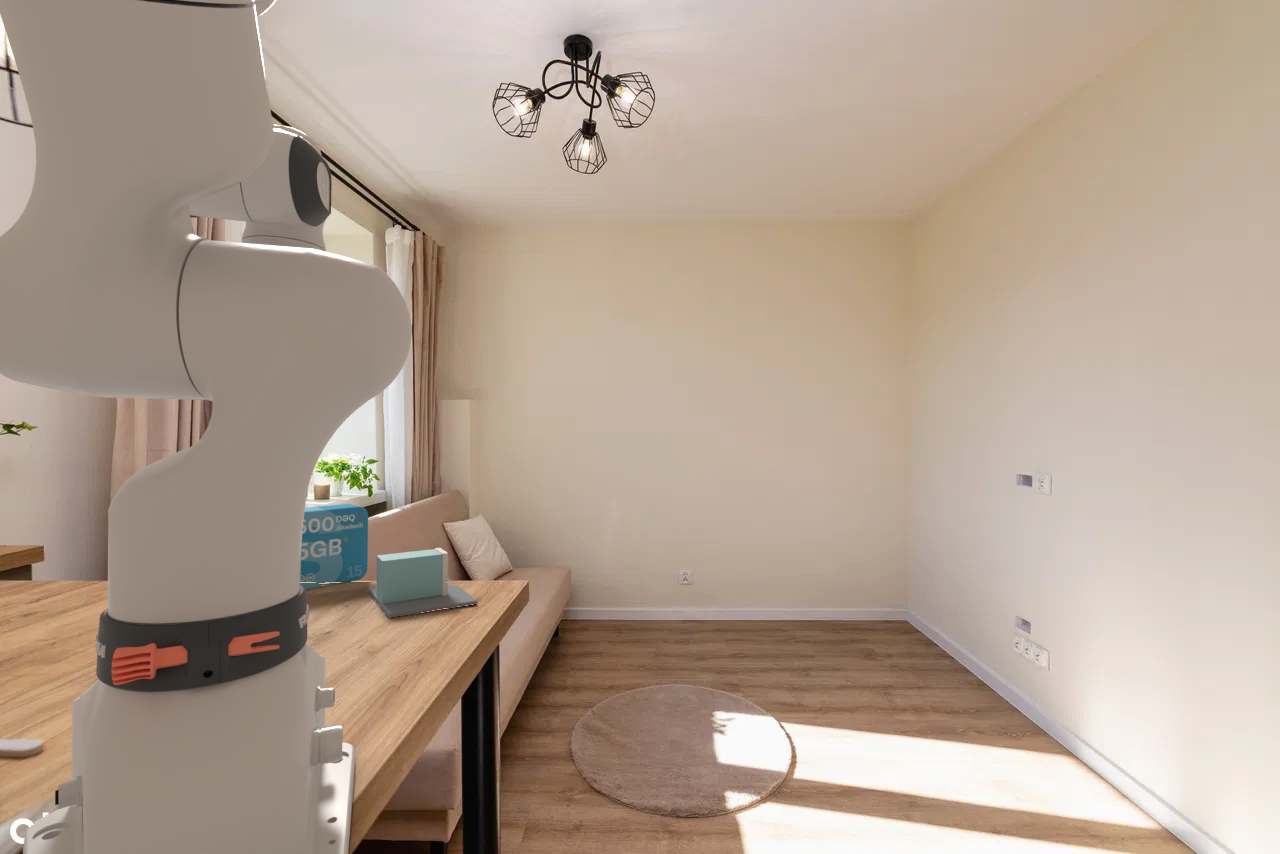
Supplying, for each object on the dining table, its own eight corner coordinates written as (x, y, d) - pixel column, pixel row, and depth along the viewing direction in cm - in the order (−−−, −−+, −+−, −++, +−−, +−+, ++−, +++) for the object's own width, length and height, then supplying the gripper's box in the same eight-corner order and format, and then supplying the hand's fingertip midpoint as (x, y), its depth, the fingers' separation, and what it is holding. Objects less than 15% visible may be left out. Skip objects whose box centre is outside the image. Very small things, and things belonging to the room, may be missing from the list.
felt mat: (477, 604, 89) (477, 600, 89) (388, 618, 83) (388, 613, 83) (448, 581, 101) (448, 578, 101) (368, 592, 94) (368, 588, 94)
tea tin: (382, 604, 87) (447, 594, 92) (382, 560, 87) (448, 553, 92) (376, 597, 90) (439, 587, 95) (376, 554, 90) (440, 547, 95)
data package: (288, 593, 93) (289, 513, 93) (277, 587, 96) (278, 509, 96) (368, 578, 102) (368, 505, 102) (355, 573, 105) (356, 502, 105)
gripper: (324, 256, 68) (322, 382, 68) (305, 289, 85) (304, 390, 85) (256, 246, 65) (254, 379, 65) (251, 282, 82) (250, 387, 82)
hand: (282, 385), depth 75 cm, fingers open, 8 cm apart
